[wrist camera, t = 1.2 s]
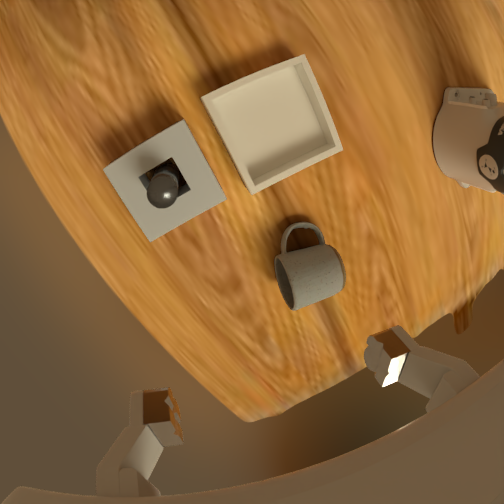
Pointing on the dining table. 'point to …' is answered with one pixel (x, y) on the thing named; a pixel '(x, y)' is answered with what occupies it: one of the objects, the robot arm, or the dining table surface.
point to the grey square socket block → (189, 195)
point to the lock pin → (163, 186)
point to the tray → (273, 122)
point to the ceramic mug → (308, 271)
